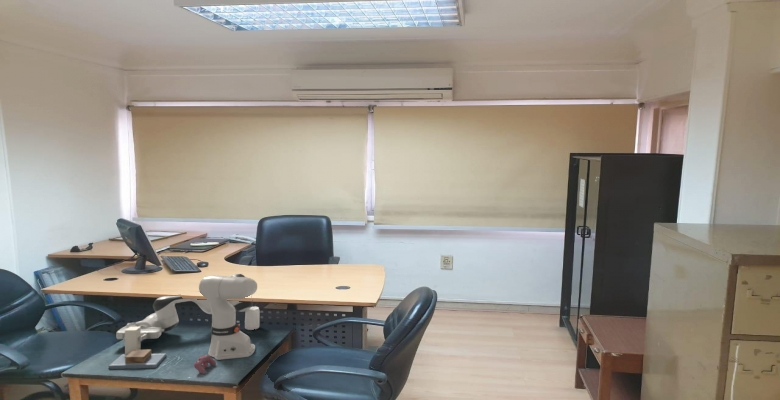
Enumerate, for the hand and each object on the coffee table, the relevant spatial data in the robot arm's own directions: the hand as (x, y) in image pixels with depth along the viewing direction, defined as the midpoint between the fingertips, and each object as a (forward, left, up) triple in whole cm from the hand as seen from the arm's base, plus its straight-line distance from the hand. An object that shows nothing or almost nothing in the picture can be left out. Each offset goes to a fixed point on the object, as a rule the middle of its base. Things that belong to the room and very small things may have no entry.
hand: (132, 339), depth 202 cm
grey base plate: (-8, +11, -7) cm, 15 cm away
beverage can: (-52, -31, -7) cm, 61 cm away
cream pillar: (0, -1, -7) cm, 7 cm away
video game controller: (-40, +20, -7) cm, 45 cm away
